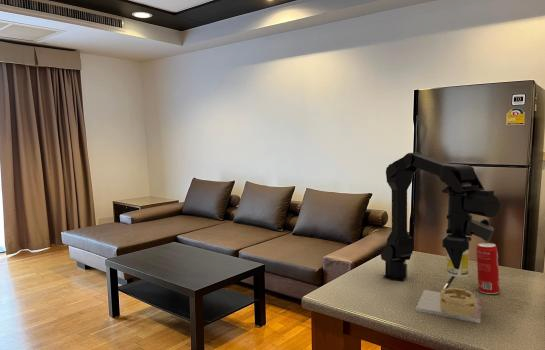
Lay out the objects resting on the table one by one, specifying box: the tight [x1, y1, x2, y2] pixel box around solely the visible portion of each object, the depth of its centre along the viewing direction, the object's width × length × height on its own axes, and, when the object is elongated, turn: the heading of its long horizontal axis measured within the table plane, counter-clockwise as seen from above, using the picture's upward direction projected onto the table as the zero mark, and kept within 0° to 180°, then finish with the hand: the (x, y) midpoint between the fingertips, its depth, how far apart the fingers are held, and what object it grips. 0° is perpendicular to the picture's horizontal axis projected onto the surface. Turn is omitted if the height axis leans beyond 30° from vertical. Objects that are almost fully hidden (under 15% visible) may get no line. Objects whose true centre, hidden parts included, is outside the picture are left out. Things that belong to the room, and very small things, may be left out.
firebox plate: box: [415, 287, 483, 324], centre depth 111 cm, size 16×14×4 cm
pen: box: [442, 276, 456, 289], centre depth 129 cm, size 1×19×1 cm, turn 144°
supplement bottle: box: [446, 250, 470, 278], centre depth 109 cm, size 5×5×10 cm
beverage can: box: [475, 242, 500, 295], centre depth 121 cm, size 6×6×15 cm
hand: (457, 265), depth 109 cm, fingers closed on supplement bottle, 5 cm apart
